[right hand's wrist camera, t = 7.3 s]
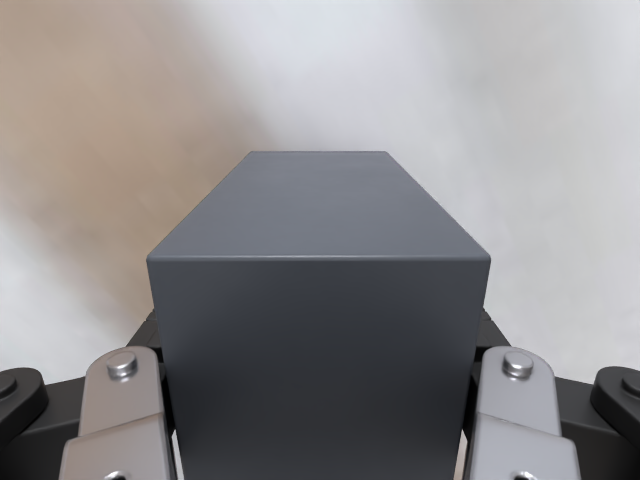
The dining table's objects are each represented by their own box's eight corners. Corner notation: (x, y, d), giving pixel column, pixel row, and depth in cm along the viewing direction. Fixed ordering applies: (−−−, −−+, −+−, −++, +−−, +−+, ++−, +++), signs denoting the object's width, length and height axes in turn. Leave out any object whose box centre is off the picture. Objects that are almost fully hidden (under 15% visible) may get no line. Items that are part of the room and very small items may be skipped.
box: (249, 150, 17) (142, 256, 7) (387, 151, 17) (494, 256, 7) (274, 536, 26) (245, 835, 16) (363, 536, 26) (393, 833, 16)
